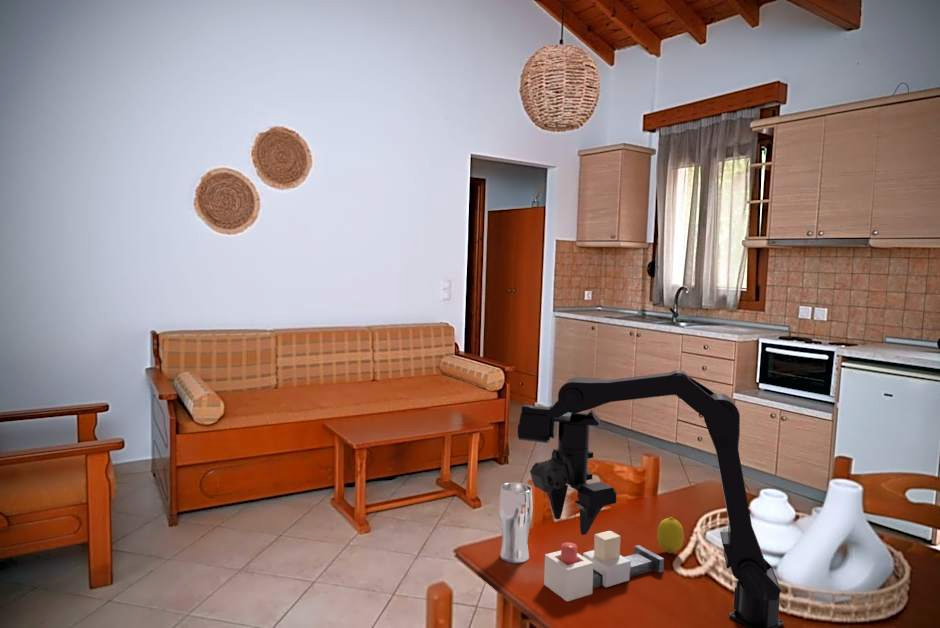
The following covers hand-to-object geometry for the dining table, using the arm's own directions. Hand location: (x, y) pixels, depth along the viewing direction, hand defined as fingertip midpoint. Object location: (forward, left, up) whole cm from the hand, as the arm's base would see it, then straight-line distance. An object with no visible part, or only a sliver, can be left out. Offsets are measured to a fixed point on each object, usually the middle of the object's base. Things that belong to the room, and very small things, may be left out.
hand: (570, 526), depth 117 cm
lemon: (+2, -29, -12) cm, 32 cm away
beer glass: (+16, +2, -12) cm, 20 cm away
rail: (0, -12, -12) cm, 17 cm away
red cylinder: (0, 0, -9) cm, 9 cm away
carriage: (0, -9, -12) cm, 15 cm away
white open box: (0, 0, -12) cm, 12 cm away
